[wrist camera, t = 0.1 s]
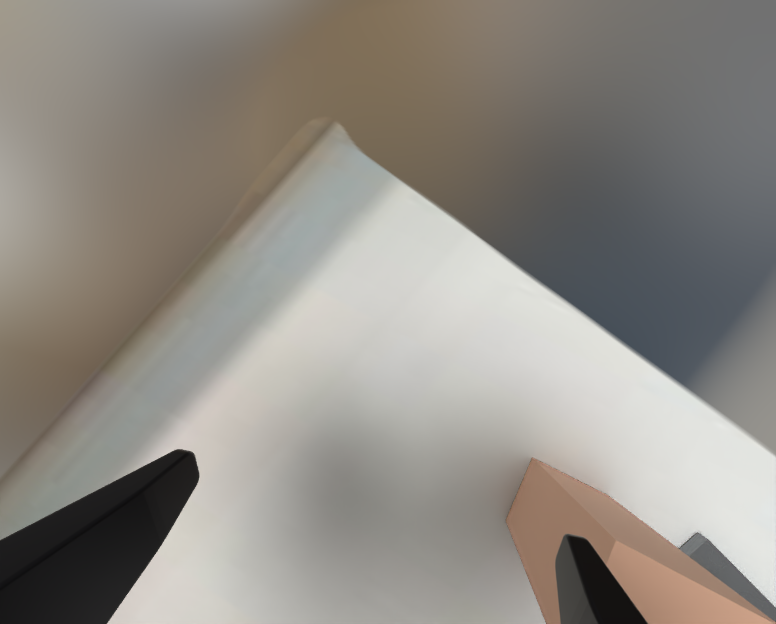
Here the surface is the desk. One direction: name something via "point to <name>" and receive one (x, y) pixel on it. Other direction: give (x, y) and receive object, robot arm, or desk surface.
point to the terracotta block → (615, 554)
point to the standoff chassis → (726, 572)
